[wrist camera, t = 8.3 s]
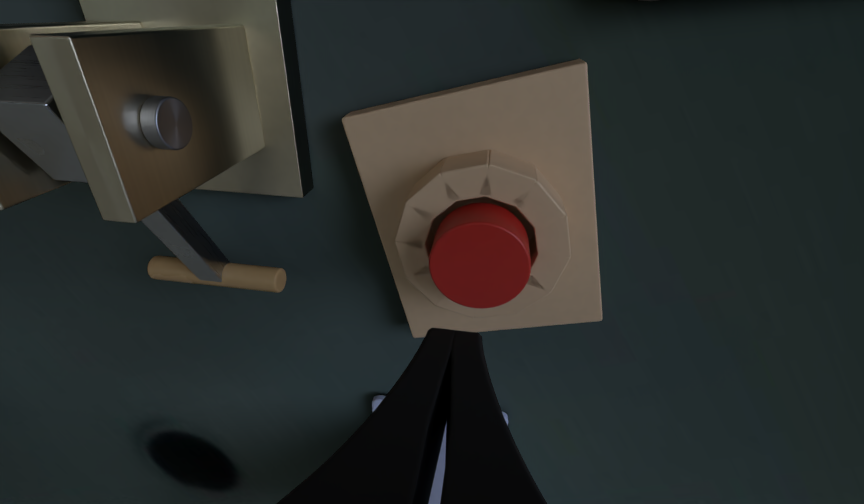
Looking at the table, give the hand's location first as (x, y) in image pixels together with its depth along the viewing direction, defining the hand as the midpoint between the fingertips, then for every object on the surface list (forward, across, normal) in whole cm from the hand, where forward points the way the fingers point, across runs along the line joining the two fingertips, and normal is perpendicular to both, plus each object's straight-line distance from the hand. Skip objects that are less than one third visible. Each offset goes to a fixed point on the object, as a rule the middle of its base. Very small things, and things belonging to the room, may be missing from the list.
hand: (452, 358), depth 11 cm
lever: (+5, +11, -2) cm, 12 cm away
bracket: (+9, +11, -5) cm, 15 cm away
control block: (+9, 0, 0) cm, 9 cm away
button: (+6, 0, 0) cm, 6 cm away
